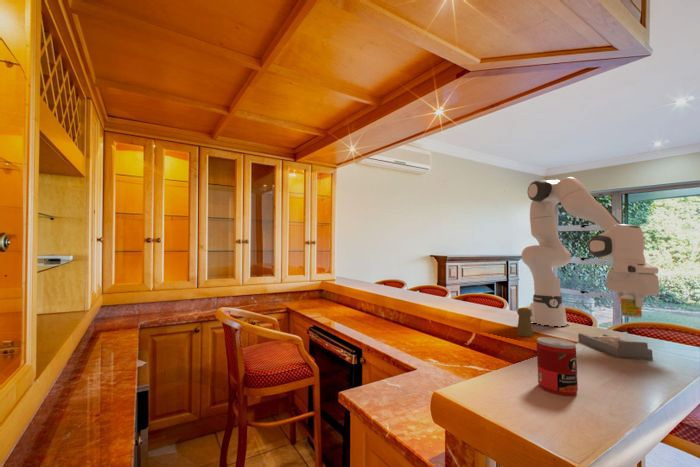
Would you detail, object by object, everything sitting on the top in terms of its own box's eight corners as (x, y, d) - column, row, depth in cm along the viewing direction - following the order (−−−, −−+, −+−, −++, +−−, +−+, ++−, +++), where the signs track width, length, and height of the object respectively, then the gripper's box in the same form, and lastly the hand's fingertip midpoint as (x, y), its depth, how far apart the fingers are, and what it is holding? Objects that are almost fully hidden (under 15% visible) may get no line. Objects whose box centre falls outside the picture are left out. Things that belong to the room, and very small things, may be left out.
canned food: (564, 398, 67) (562, 346, 68) (530, 385, 74) (528, 338, 75) (586, 393, 70) (583, 343, 71) (551, 380, 77) (549, 336, 78)
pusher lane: (578, 341, 119) (578, 327, 119) (606, 342, 117) (606, 329, 118) (617, 357, 98) (617, 341, 98) (652, 359, 97) (651, 343, 97)
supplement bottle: (624, 317, 110) (622, 289, 111) (619, 315, 115) (618, 288, 116) (644, 318, 107) (642, 290, 108) (639, 316, 112) (637, 289, 113)
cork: (514, 335, 127) (514, 308, 128) (519, 332, 131) (518, 306, 132) (531, 337, 123) (530, 309, 124) (535, 335, 127) (534, 308, 128)
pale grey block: (597, 345, 110) (597, 335, 110) (618, 346, 109) (617, 336, 110) (604, 347, 107) (603, 338, 107) (625, 348, 106) (624, 339, 106)
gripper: (600, 266, 123) (602, 301, 122) (641, 268, 103) (643, 309, 102) (618, 267, 122) (619, 302, 121) (662, 268, 102) (665, 310, 101)
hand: (631, 305), depth 111 cm, fingers closed on supplement bottle, 5 cm apart
